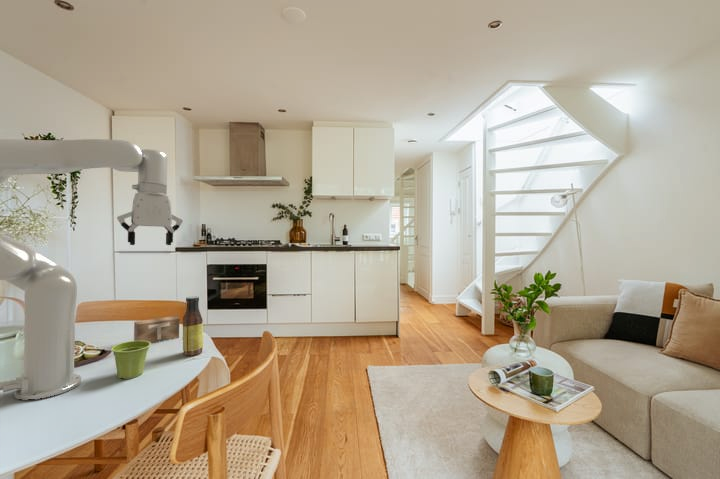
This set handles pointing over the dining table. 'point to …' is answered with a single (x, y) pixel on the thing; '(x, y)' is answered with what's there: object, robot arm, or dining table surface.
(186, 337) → the sauce bottle
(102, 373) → the dining table surface
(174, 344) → the dining table surface
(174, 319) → the letter block
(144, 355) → the plant pot
